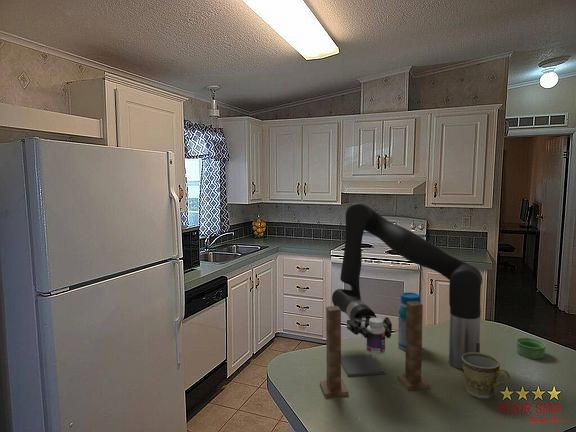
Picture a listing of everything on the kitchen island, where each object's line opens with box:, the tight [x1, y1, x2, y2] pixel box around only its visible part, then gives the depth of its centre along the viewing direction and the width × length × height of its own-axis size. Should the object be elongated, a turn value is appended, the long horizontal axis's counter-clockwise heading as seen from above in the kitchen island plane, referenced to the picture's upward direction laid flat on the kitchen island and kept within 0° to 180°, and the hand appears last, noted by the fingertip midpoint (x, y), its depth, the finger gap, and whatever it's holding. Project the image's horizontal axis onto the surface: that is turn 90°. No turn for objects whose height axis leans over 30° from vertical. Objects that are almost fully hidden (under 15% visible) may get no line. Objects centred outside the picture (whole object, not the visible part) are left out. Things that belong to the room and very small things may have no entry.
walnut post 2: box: [397, 301, 430, 391], centre depth 118 cm, size 7×7×25 cm
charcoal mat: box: [341, 354, 385, 377], centre depth 130 cm, size 12×12×1 cm
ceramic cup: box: [462, 352, 510, 400], centre depth 112 cm, size 13×10×10 cm
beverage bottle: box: [397, 292, 421, 352], centre depth 143 cm, size 8×8×20 cm
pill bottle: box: [366, 317, 386, 356], centre depth 115 cm, size 5×5×10 cm
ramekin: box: [515, 337, 547, 360], centre depth 137 cm, size 9×9×4 cm
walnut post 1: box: [319, 305, 350, 399], centre depth 115 cm, size 7×7×25 cm
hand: (379, 335), depth 112 cm, fingers closed on pill bottle, 5 cm apart
